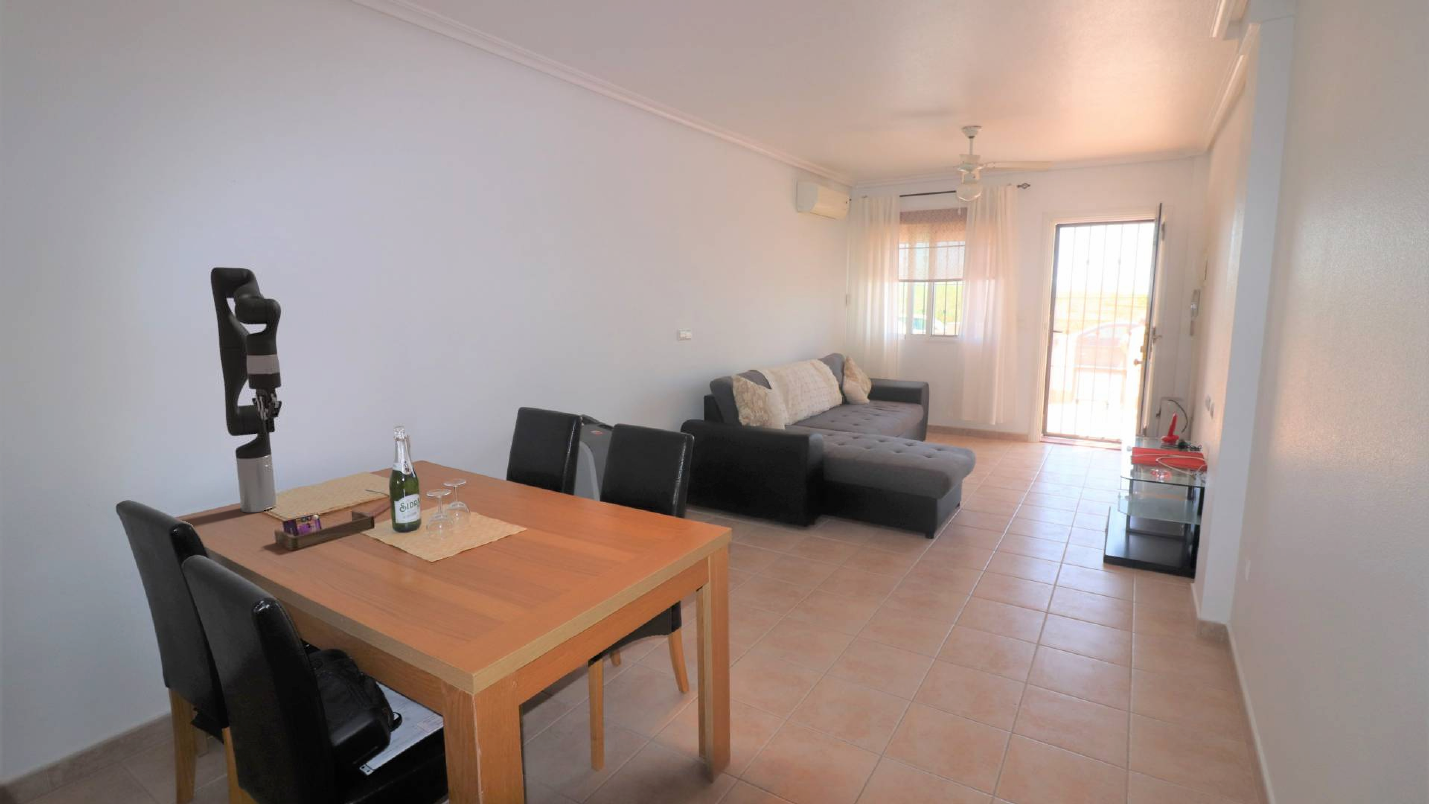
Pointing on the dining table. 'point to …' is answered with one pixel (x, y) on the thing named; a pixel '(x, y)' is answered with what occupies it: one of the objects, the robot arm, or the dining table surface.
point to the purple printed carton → (292, 528)
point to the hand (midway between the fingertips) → (269, 432)
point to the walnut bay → (326, 532)
